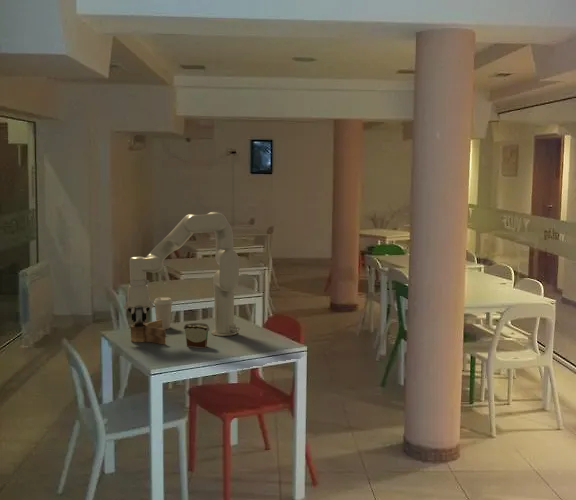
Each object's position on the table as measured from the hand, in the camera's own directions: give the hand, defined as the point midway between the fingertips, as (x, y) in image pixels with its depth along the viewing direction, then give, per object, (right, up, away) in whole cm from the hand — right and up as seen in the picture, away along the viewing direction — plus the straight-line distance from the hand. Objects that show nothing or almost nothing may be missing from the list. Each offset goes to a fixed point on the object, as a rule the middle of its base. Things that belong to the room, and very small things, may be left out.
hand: (139, 321), depth 340 cm
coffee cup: (+7, -6, +27) cm, 29 cm away
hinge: (+8, -9, +3) cm, 12 cm away
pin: (0, -3, 0) cm, 3 cm away
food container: (+30, -11, -10) cm, 33 cm away
